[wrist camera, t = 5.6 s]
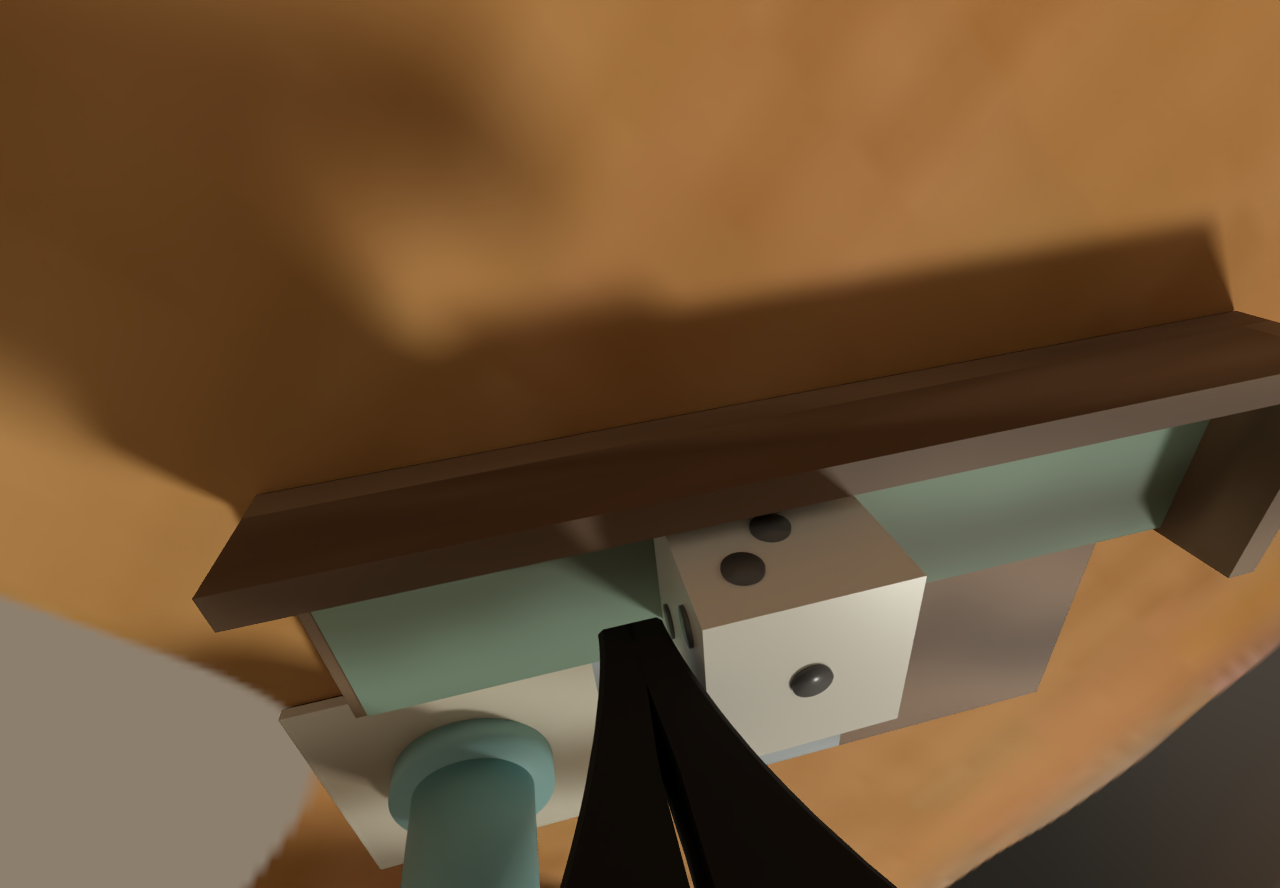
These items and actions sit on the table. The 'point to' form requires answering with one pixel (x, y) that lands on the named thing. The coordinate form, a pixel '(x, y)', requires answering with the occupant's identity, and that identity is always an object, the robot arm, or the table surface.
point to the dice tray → (764, 502)
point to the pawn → (472, 804)
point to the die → (794, 619)
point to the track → (934, 687)
